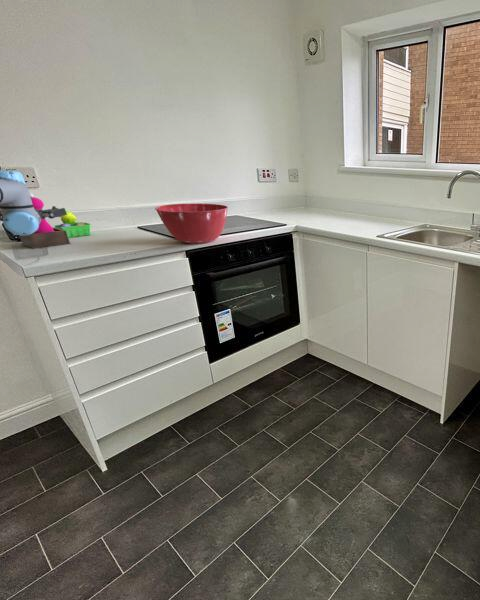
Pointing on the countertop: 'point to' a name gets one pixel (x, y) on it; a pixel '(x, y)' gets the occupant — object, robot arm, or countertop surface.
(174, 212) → the mixing bowl
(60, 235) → the holder
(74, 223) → the fruit basket
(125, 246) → the countertop surface
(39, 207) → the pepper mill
